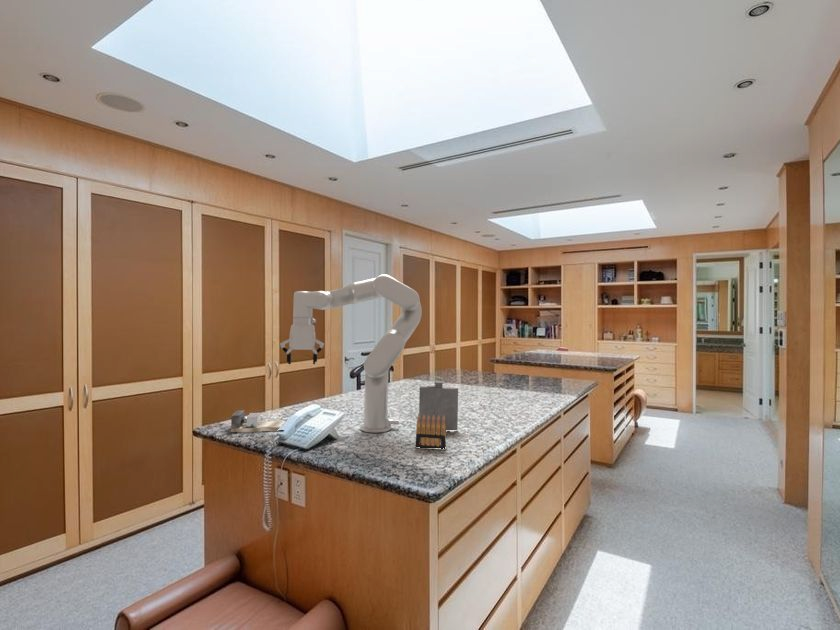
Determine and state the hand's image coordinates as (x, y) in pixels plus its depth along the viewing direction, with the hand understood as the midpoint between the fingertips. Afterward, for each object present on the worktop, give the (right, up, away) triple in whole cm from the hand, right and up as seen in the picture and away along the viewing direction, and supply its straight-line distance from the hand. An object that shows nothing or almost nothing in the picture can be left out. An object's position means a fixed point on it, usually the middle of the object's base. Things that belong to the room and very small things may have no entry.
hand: (301, 363), depth 175 cm
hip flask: (+55, -28, +1) cm, 62 cm away
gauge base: (-17, -26, -1) cm, 31 cm away
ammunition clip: (+52, -28, -23) cm, 63 cm away
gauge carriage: (-20, -24, -3) cm, 32 cm away
